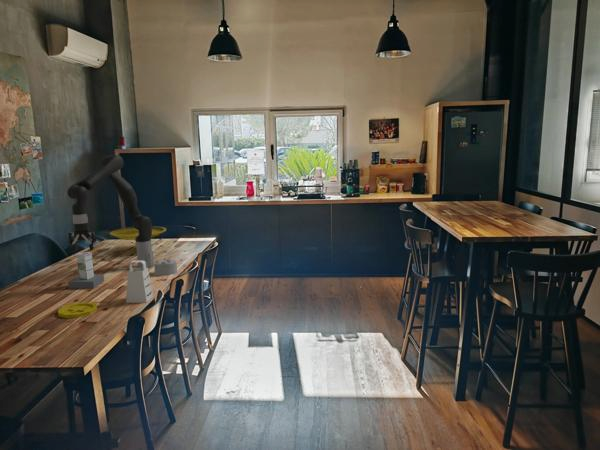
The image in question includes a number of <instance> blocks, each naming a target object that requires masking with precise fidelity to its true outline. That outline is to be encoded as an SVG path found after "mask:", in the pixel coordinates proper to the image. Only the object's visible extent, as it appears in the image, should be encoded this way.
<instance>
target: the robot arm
mask: <svg viewBox="0 0 600 450" xmlns="http://www.w3.org/2000/svg"><path fill="white" fill-rule="evenodd" d="M124 164H125V163H124V159H123V158H122V156H120V155H118V154H112V155H106V156H103V157H102V160H101V165H102V167H101V168H98V169H97V170H95V171H93V172H91V173H89V174H88V175H87V176H85V177H84V178H83V179H81V180H80V181H77V182H76V183H74V184H72V185H70V187H68V189H67V192H66V194H67V196H68V198H70V199H73V200H76V203H73V204H72V206H71V211H72V212H71V213H72V224H73V231H74V232H72V231H71V232H68V243H69V244H71V245H72V249H73V250H74V252H75V251H76V252H77V251H78V242H79V241H85V242H87V243H88V246H89V251H91V252H92V251H93V249H94V244H95V243H96V242H97V237H96V236H97V235H96V232H95V231H91V232H90V227H89V226H90V225H89V219H88V214H87V213H88V211H87V205H88V204H87V202H88V196H89V193H88V191H91V190H93V189H94V188H96V187H97V185H99V184H101V182H103V181H104V180H106V178H108V177H109V179H110V182H111V183H112V184H113V187H114V188H115V190H116V192H117V194H118V197H119V198H120V200H121V202H122V204H123V206H124V208H125V209H126V212H127V214H128V216H129V219H130V222H131V225H132V227H134V228H135V229H136V230H137V229H138V233H139V235H138V236H137V237H136V241H135V248H137V253H136V257H137V259H136V260H144V261H145V262H146V268H148V269H149V268H152V267H154V263H155V260H154V259H155V258H154V251H153V250H152V249H153V248H152V238H151V236H152V228H153V227H152V226H153V225H152V220H151V218H150V217H149V216H146V215H142V213H141V212H140V210H139V207H138V198H137V194H136V191H135V190H134V188H133V186H132V185H131V184H130V183H129V182H128V181H127V180H126V179H125V178H123V176H122V175H121V174H120V172H119V171H120V170H121V169H122V168H123V167H124ZM134 228H133V229H134ZM74 237H75V238H74ZM137 268H143V263H142V262H137Z"/></svg>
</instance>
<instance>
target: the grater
mask: <svg viewBox="0 0 600 450" xmlns="http://www.w3.org/2000/svg"><path fill="white" fill-rule="evenodd" d="M138 262H142V263H143V268H138V267H133V265H132V264H133V263H138ZM150 278H151V277H150V273H149V268H146V262H145V261H144V260H137V259H136V260H135V259H134V260H131V261H130V262H129V263H128V271H127V279H126V281H127V282H126V297H125V298H126V300H125V302H126V303H127V304H128V303H130V304H131V303H135V304H137V303H145V304H146V303H148V302H149V301H150V300H151V299H152V298H153V297H154V292H153V291H154V290H153V286H152V281H151V279H150Z"/></svg>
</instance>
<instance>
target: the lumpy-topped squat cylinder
mask: <svg viewBox="0 0 600 450" xmlns="http://www.w3.org/2000/svg"><path fill="white" fill-rule="evenodd" d="M153 268H154V276H157V277H163V276H162V275H166V276H172V275H175V274H177V273H178V263H177V260H175V259H172V258H167V257H164V258H162V259H157V260H154V265H153ZM171 274H172V275H171Z"/></svg>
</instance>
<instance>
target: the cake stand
mask: <svg viewBox="0 0 600 450" xmlns="http://www.w3.org/2000/svg"><path fill="white" fill-rule="evenodd" d="M166 231H167V228H166V227H163V226H153V225H152V236H151V239H152V238H156V237H158V236H160V235H161V234H163V233H165V232H166ZM109 235H110V236H113V237H115V238H117V239H120V240H129V241H130V240H133V241H134V242H136V237H137V236H138V235H139V230H138V229H135V228H134V227H133V226H132V227H131V226H130V227H125V228H119V229H114V230H112V231H110V232H109ZM130 253H132V254H137V248H136V247H134V248H133V249H131V250H130Z"/></svg>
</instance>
